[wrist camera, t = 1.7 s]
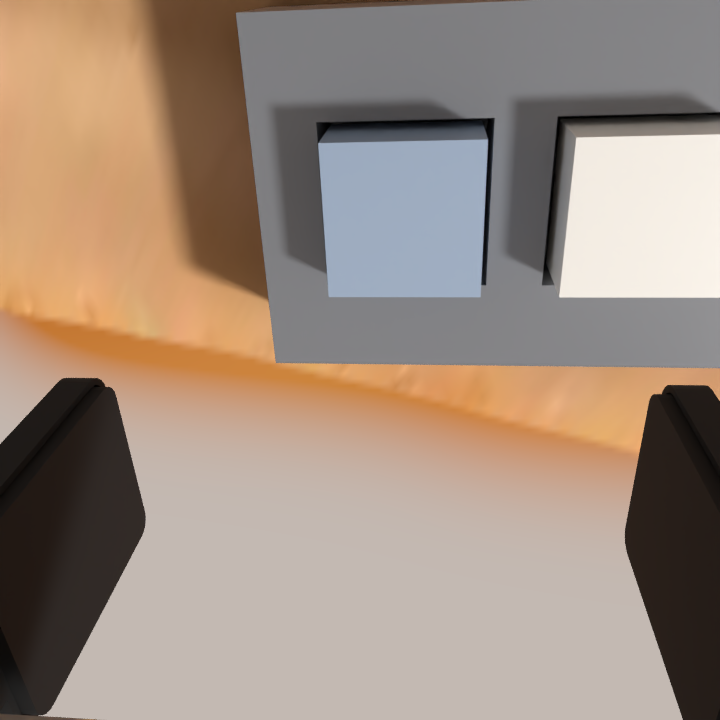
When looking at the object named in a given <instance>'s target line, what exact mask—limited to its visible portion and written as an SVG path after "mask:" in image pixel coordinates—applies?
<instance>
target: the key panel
mask: <svg viewBox="0 0 720 720" xmlns="http://www.w3.org/2000/svg"><path fill="white" fill-rule="evenodd" d="M236 19H237V28H238V37H239V45H240V54H241V63H242V72H243V80H244V89H245V98H246V107H247V115H248V124H249V133H250V141H251V150H252V159H253V168H254V176H255V185H256V194H257V202H258V211H259V220H260V229H261V237H262V246H263V255H264V263H265V272H266V281H267V290H268V298H269V307H270V316H271V324H272V333H273V342H274V351H275V359H276V363H329V364H415V365H500V366H585V367H670V368H720V298H574V297H559V296H558V293H557V290H556V288H555V285H554V283H553V280H552V277H551V275H550V272H549V269H548V267H547V264H546V261H547V251H548V240H549V230H550V219H551V209H552V198H553V188H554V177H555V167H556V156H557V146H558V135H559V125H560V119H564V118H604V117H644V116H684V115H720V0H413V1H390V2H367V3H343V4H320V5H297V6H274V7H264V8H259V9H253V10H248V11H243V12H237V13H236ZM443 121H482V122H483V125H484V128H485V131H486V134H487V138H488V151H487V172H486V193H485V214H484V235H483V256H482V277H481V297H329V294H328V280H327V265H326V251H325V236H324V222H323V207H322V192H321V178H320V163H319V149H318V143H319V141H320V140H321V138H322V137H323V136H324V134H325V133H326V131H327V130H328V128H329V127H330V126H331V124H362V123H403V122H443Z"/></svg>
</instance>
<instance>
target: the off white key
mask: <svg viewBox="0 0 720 720" xmlns="http://www.w3.org/2000/svg"><path fill="white" fill-rule="evenodd" d="M546 264H547V267H548V269H549V272H550V275H551V277H552V280H553V283H554V285H555V288H556V290H557V293H558V296H559V297H574V298H720V115H684V116H644V117H604V118H564V119H560V125H559V135H558V146H557V156H556V167H555V177H554V188H553V198H552V209H551V219H550V230H549V240H548V251H547V261H546Z"/></svg>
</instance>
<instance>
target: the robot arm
mask: <svg viewBox="0 0 720 720" xmlns="http://www.w3.org/2000/svg"><path fill="white" fill-rule="evenodd" d="M144 528H145V511H144V506H143V503H142V498H141V494H140V490H139V486H138V482H137V478H136V474H135V470H134V466H133V462H132V458H131V454H130V450H129V447H128V442H127V438H126V434H125V431H124V426H123V422H122V418H121V414H120V410H119V406H118V402H117V398H116V395H115V392H114V390H113V389H112V388H110V387H105V384H104V383H103V382H102V380H100V379H98V378H63V379H61V380H60V381H59V382H58V383H57V384H56V385H55V386H54V387H53V388H52V389H51V391H50V392H48V394H47V395H46V396H45V397H44V398H43V399H42V400H41V401H40V402H39V403H38V404H37V405H36V406H35V407H34V409H33V410H32V411H31V412H30V413H29V414H28V415H27V416H26V417H25V418H24V419H23V420H22V421H21V422H20V424H19V425H18V426H17V427H16V428H15V429H14V430H13V431H12V432H11V433H10V434H9V435H8V436H7V438H6V439H5V440H4V441H3V442H2V443H1V444H0V720H95V719H77V718H61V717H44V716H38V715H44V714H46V713H47V712H48V711H49V710H50V709H51V708H52V706H53V704H54V702H55V701H56V699H57V697H58V695H59V693H60V691H61V689H62V687H63V685H64V683H65V681H66V680H67V678H68V675H69V674H70V672H71V670H72V668H73V666H74V664H75V663H76V660H77V658H78V657H79V655H80V653H81V651H82V649H83V647H84V645H85V643H86V641H87V640H88V638H89V636H90V634H91V632H92V630H93V628H94V626H95V624H96V622H97V621H98V619H99V617H100V615H101V613H102V611H103V609H104V607H105V605H106V603H107V602H108V599H109V598H110V596H111V594H112V592H113V590H114V588H115V586H116V584H117V582H118V581H119V579H120V577H121V575H122V573H123V571H124V569H125V567H126V565H127V563H128V561H129V559H130V558H131V556H132V554H133V552H134V550H135V548H136V546H137V544H138V542H139V540H140V539H141V537H142V534H143V532H144ZM625 544H626V550H627V554H628V557H629V560H630V563H631V566H632V569H633V572H634V575H635V578H636V581H637V584H638V587H639V590H640V593H641V596H642V599H643V602H644V605H645V608H646V611H647V614H648V617H649V620H650V623H651V626H652V629H653V631H654V634H655V637H656V641H657V643H658V646H659V649H660V652H661V655H662V658H663V661H664V664H665V667H666V670H667V673H668V676H669V679H670V682H671V685H672V688H673V691H674V694H675V697H676V700H677V703H678V706H679V709H680V712H681V715H682V718H683V720H720V401H719V400H718V398H717V397H716V395H715V394H714V392H713V391H712V389H711V388H710V387H709V386H704V385H667V386H666V387H665V388H664V390H663V392H662V394H654V395H652V396H651V398H650V401H649V406H648V411H647V416H646V421H645V427H644V432H643V437H642V443H641V448H640V453H639V459H638V464H637V469H636V475H635V480H634V485H633V491H632V496H631V501H630V506H629V512H628V517H627V523H626V528H625Z"/></svg>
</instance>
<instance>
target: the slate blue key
mask: <svg viewBox="0 0 720 720" xmlns="http://www.w3.org/2000/svg"><path fill="white" fill-rule="evenodd" d="M318 149H319V163H320V178H321V192H322V207H323V222H324V236H325V251H326V265H327V280H328V294H329V297H481V277H482V256H483V235H484V214H485V193H486V172H487V151H488V138H487V134H486V131H485V128H484V125H483V122H482V121H443V122H403V123H362V124H331V126H330V127H329V128H328V130H327V131H326V133H325V134H324V136H323V137H322V138H321V140H320V141H319V143H318Z"/></svg>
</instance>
